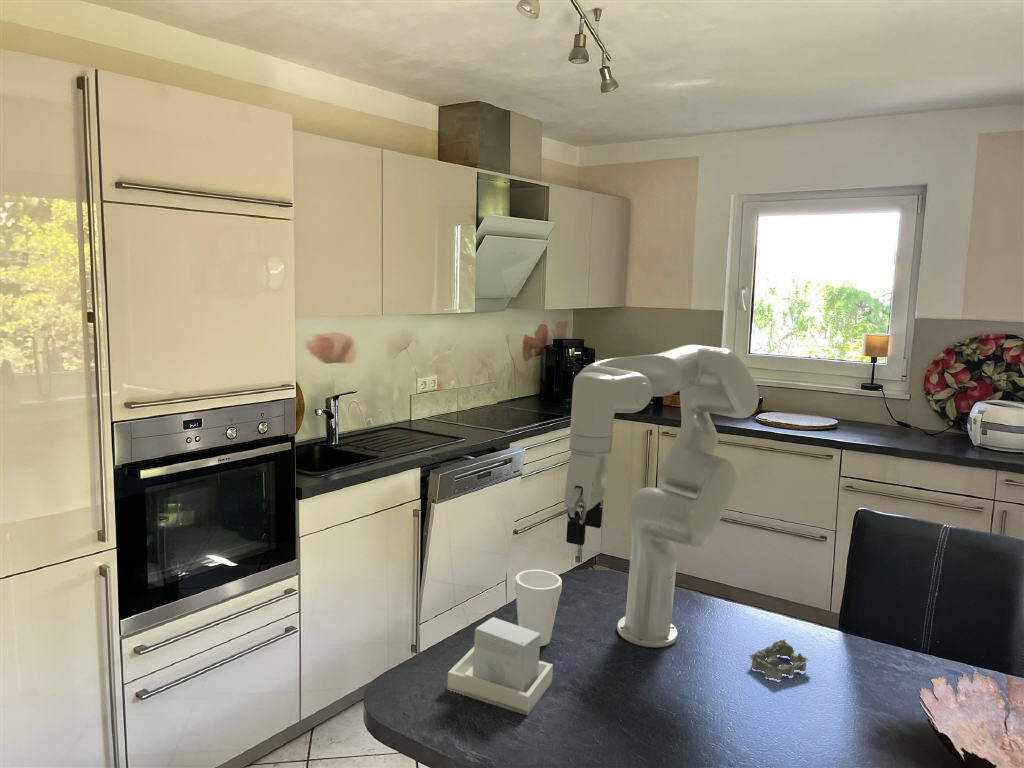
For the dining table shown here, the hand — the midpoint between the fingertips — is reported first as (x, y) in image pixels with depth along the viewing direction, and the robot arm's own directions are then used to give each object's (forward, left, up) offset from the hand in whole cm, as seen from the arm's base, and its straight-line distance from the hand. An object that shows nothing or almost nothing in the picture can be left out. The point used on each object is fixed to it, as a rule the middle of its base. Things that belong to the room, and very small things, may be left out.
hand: (584, 534), depth 133 cm
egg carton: (-23, +35, -29) cm, 50 cm away
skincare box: (+9, -10, -28) cm, 31 cm away
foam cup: (-10, -12, -28) cm, 32 cm away
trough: (+9, -11, -28) cm, 32 cm away
